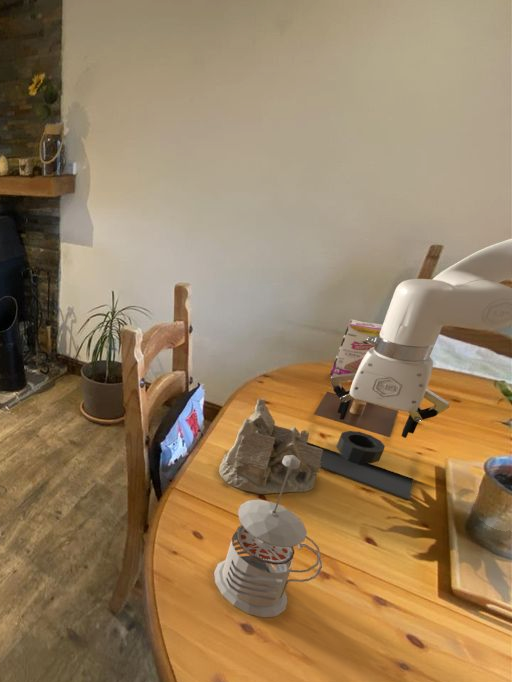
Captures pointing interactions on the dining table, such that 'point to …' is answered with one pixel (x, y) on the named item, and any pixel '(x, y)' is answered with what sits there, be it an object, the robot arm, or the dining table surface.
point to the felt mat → (367, 474)
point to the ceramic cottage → (269, 456)
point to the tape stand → (359, 414)
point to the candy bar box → (354, 346)
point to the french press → (263, 555)
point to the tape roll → (360, 448)
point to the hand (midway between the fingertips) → (372, 425)
